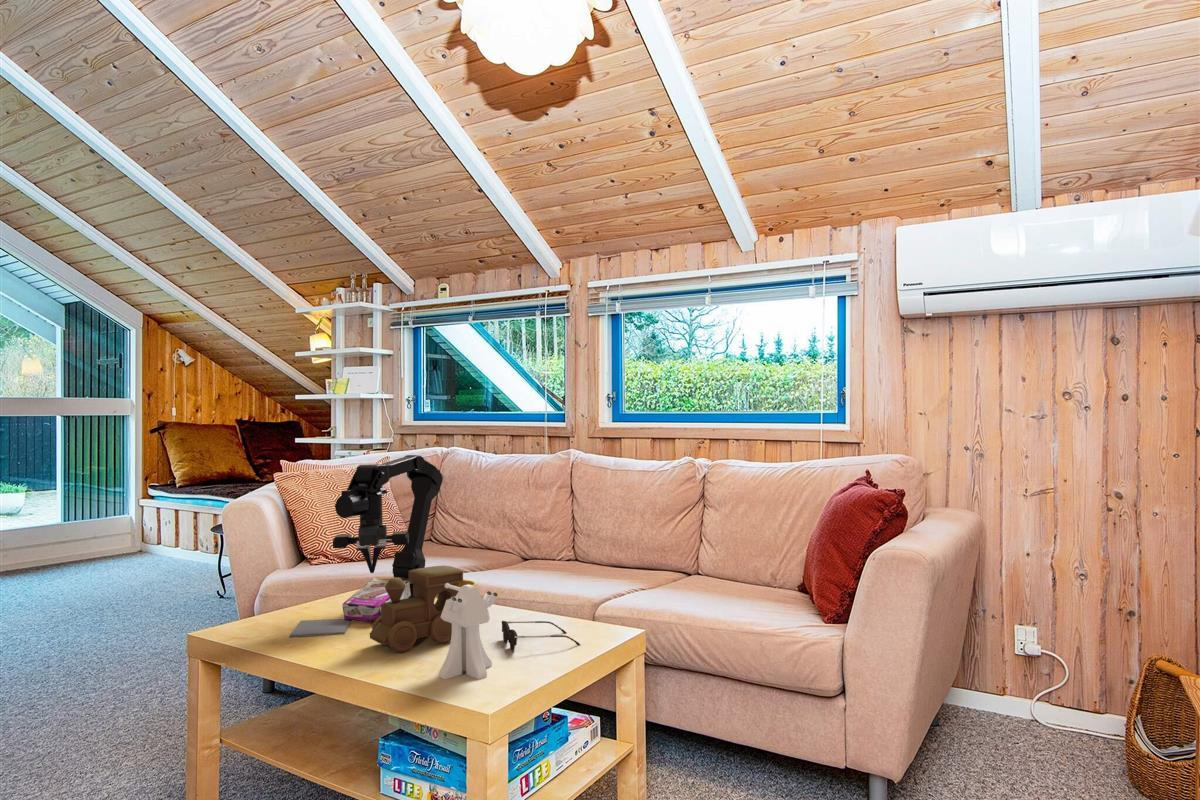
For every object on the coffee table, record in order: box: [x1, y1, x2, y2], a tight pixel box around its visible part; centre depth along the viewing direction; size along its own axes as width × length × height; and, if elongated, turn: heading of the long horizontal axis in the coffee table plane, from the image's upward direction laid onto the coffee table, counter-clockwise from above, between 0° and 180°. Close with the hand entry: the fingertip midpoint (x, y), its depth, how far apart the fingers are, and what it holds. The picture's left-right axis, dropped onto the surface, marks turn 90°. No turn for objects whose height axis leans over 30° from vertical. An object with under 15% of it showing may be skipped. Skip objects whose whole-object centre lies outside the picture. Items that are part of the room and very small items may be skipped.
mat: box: [288, 617, 353, 638], centre depth 202 cm, size 13×14×1 cm
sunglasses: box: [501, 620, 581, 653], centre depth 187 cm, size 14×16×5 cm
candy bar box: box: [342, 577, 411, 624], centre depth 213 cm, size 11×5×16 cm
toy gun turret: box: [438, 583, 499, 680], centre depth 167 cm, size 12×13×18 cm
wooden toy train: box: [369, 565, 464, 653], centre depth 188 cm, size 20×11×17 cm, turn 129°
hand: (372, 572), depth 208 cm, fingers closed
